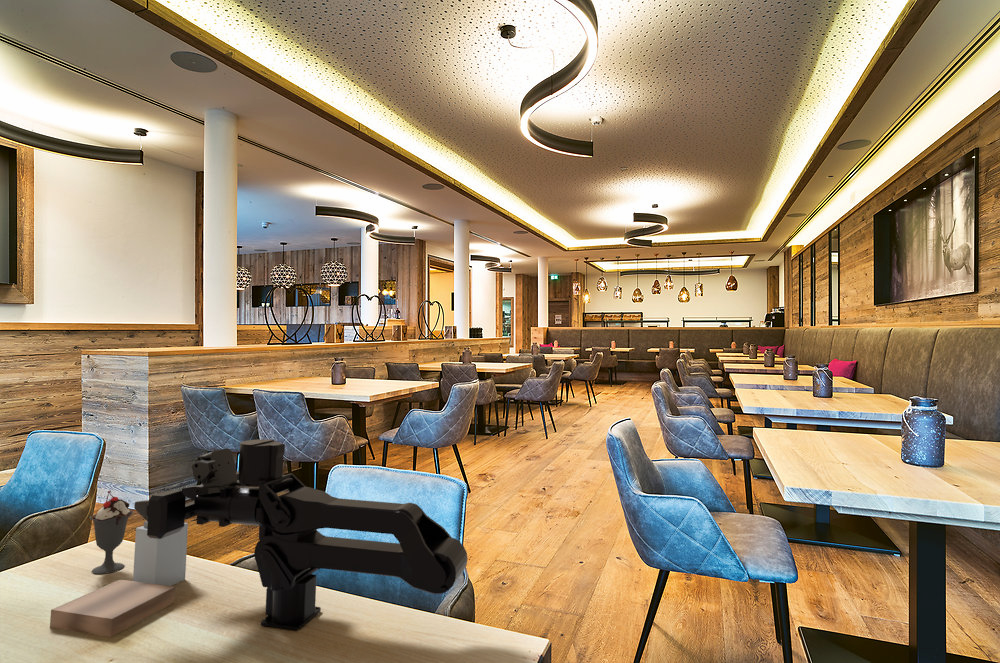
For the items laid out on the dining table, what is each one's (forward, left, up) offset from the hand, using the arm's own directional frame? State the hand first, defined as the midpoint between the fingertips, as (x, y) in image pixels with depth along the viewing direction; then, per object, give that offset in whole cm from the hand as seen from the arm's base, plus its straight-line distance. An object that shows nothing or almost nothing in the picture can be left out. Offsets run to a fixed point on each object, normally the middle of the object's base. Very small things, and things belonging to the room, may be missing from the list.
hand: (160, 497), depth 87 cm
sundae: (+19, -8, -17) cm, 26 cm away
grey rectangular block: (+5, -5, -17) cm, 18 cm away
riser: (+2, +6, -17) cm, 18 cm away
